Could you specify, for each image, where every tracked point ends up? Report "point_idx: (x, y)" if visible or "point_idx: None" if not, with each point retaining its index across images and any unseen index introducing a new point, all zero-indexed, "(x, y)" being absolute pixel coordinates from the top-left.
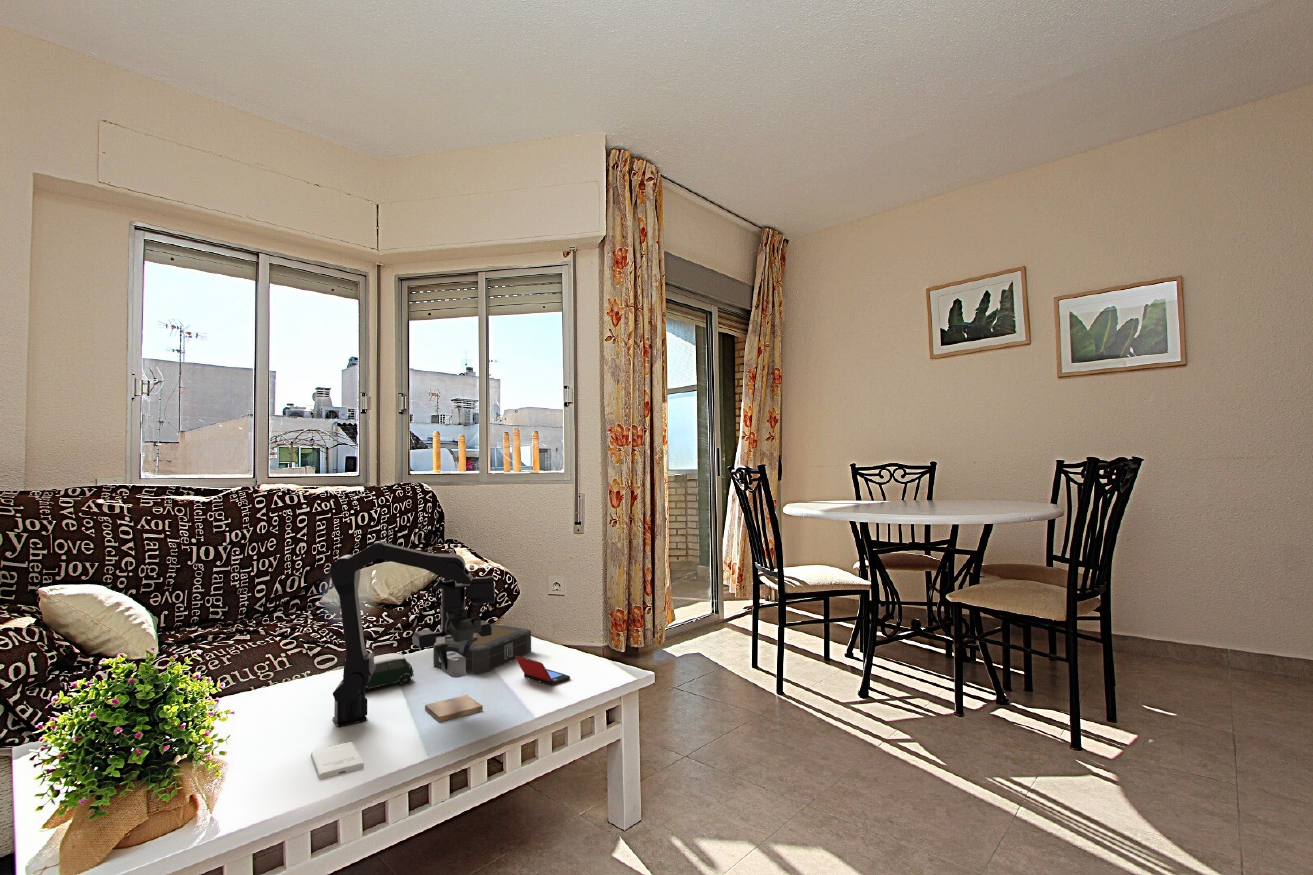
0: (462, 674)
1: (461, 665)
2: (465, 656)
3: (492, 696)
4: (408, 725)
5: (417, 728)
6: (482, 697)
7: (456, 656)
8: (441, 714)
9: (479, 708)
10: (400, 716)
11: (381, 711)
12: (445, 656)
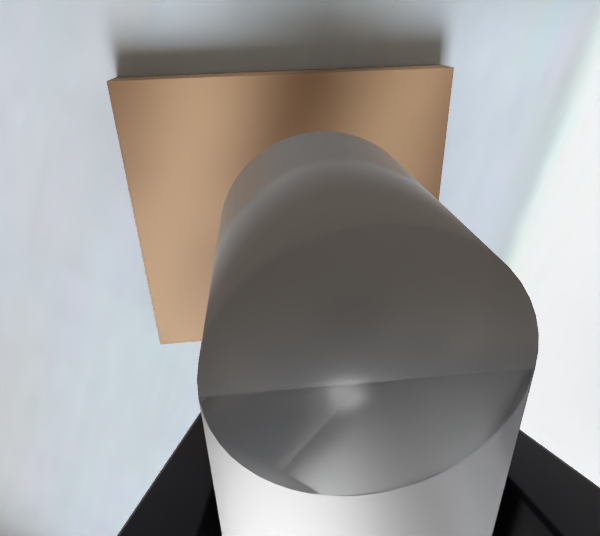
0: (295, 144)
1: (334, 187)
2: (149, 502)
3: (2, 291)
4: (594, 131)
5: (588, 41)
6: (69, 308)
7: (325, 522)
8: (421, 101)
9: (137, 77)
10: (549, 288)
11: (572, 391)
12: (585, 526)
